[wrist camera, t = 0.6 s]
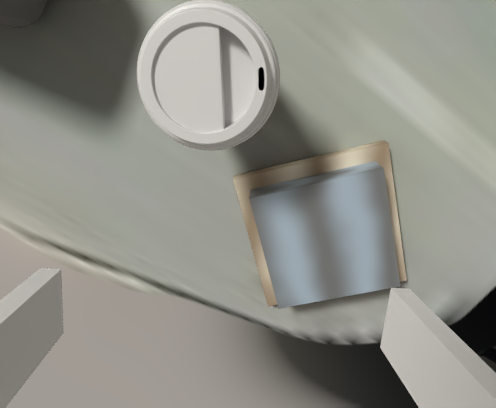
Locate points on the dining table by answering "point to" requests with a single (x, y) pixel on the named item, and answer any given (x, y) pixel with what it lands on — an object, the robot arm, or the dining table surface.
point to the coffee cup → (208, 74)
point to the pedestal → (324, 225)
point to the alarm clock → (20, 12)
